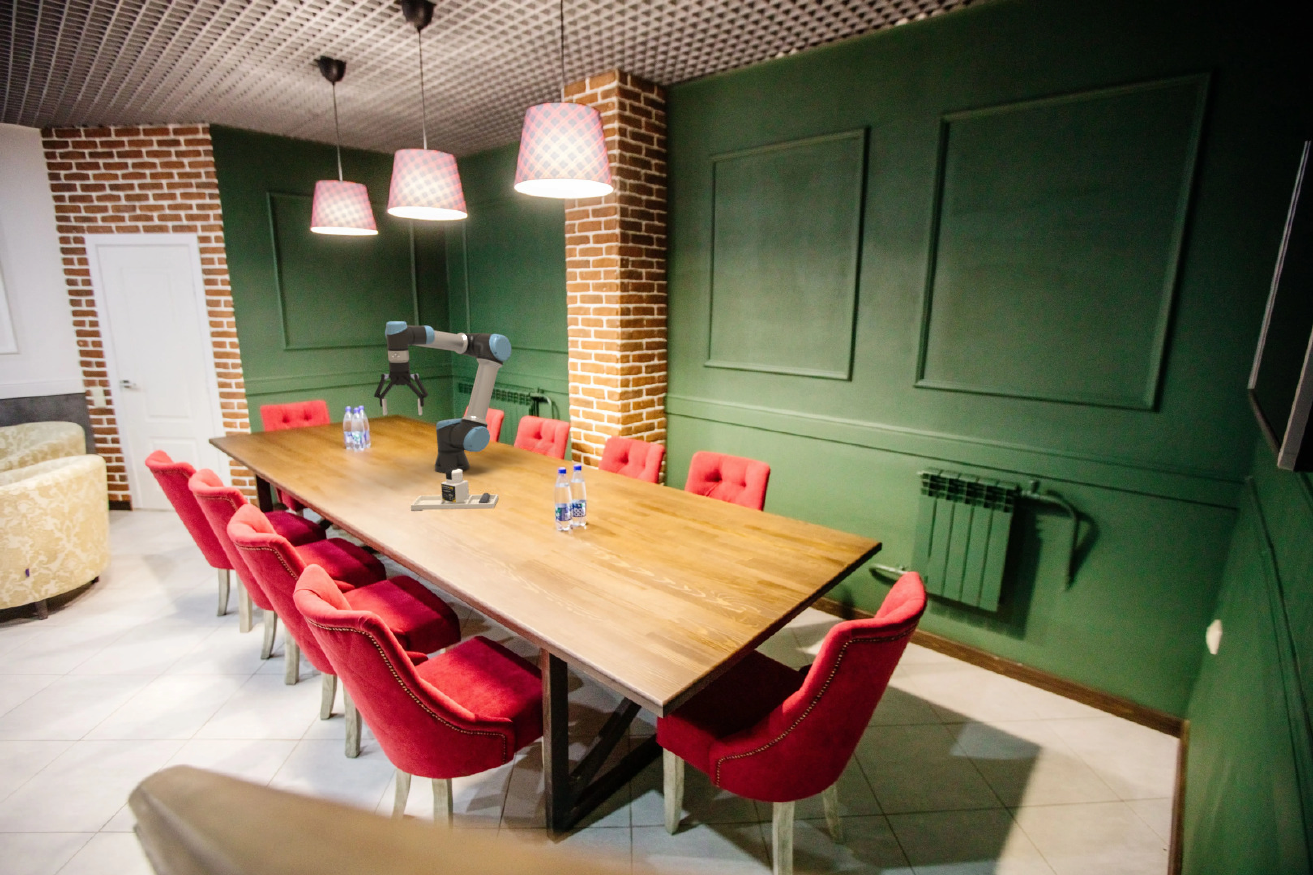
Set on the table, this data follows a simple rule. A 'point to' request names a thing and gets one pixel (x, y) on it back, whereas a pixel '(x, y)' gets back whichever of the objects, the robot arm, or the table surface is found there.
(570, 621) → the table surface
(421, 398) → the robot arm
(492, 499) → the organiser
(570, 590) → the table surface
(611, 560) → the table surface
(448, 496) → the medicine bottle
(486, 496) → the grey cylinder
